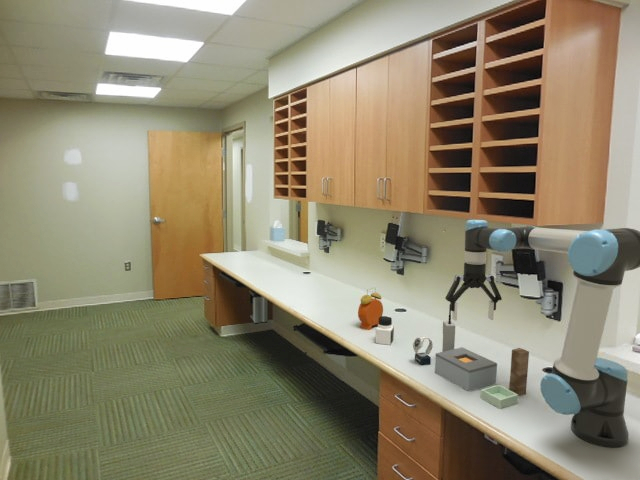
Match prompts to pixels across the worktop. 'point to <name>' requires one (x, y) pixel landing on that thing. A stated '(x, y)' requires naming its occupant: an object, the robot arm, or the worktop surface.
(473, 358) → the grey box with hole
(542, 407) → the worktop surface
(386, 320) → the medicine bottle
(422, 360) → the watch
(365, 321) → the alarm clock
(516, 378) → the brown wooden block
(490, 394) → the green square tray
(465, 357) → the button
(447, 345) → the grey rectangular bar
